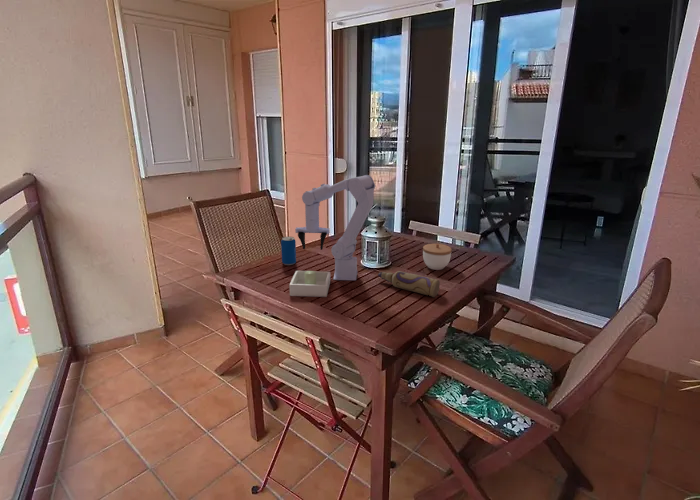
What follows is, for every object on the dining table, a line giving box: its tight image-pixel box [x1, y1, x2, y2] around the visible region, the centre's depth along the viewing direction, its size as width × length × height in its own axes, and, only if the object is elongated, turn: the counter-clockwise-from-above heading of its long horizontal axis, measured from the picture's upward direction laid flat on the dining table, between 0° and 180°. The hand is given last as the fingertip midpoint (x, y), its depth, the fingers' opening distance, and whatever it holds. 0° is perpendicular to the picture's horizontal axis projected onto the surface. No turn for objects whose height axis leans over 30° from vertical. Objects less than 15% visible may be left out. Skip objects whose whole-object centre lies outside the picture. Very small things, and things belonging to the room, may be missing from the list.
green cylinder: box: [305, 270, 316, 285], centre depth 156 cm, size 4×4×6 cm
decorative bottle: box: [377, 270, 441, 298], centre depth 158 cm, size 26×8×7 cm, turn 55°
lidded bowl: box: [422, 242, 453, 271], centre depth 179 cm, size 13×13×11 cm
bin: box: [289, 270, 331, 298], centre depth 156 cm, size 14×14×5 cm
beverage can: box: [280, 236, 297, 266], centre depth 181 cm, size 6×6×12 cm
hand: (312, 248), depth 174 cm, fingers open, 7 cm apart
